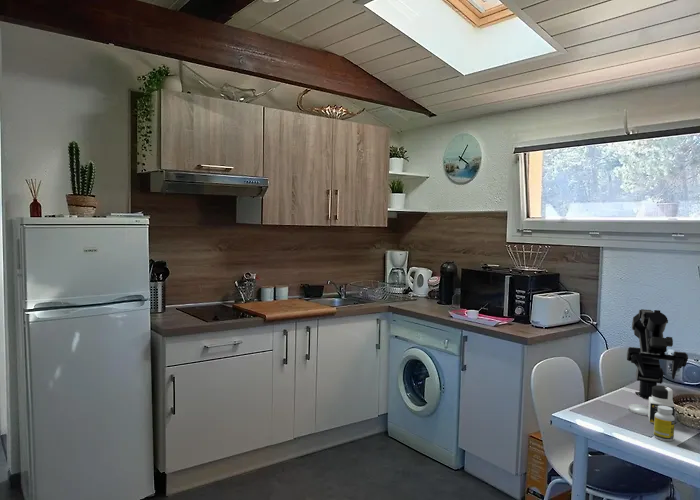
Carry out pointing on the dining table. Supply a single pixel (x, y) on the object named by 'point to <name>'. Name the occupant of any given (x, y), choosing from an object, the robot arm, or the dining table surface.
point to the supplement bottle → (664, 424)
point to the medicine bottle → (660, 400)
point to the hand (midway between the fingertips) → (658, 377)
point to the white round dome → (639, 409)
